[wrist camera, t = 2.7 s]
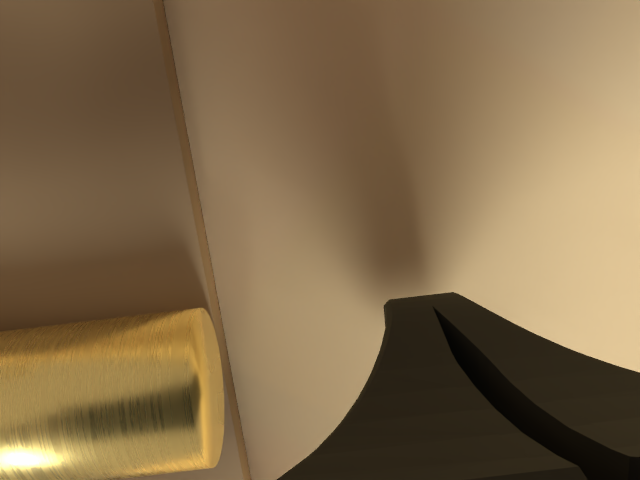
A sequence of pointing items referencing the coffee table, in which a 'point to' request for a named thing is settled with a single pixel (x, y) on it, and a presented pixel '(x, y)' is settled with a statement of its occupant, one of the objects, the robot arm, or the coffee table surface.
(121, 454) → the pin
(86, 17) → the board
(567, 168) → the coffee table surface
